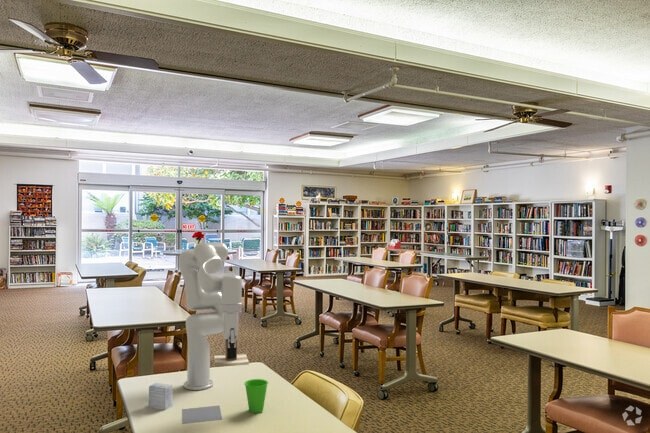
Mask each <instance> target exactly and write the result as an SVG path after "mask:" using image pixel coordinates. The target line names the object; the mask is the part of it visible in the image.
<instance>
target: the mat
mask: <svg viewBox="0 0 650 433" xmlns="http://www.w3.org/2000/svg"><path fill="white" fill-rule="evenodd" d="M221 410H222V409H221V407H220V405H211V406H210V405H209V406H203V407H202V406H200V407H193V408H192V407H191V408H182V410H181V422H182V423H181V424H182V425H184V424H194V423H204V422H212V421H214V422H215V421H222V420H223V415H222V411H221Z"/></svg>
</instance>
